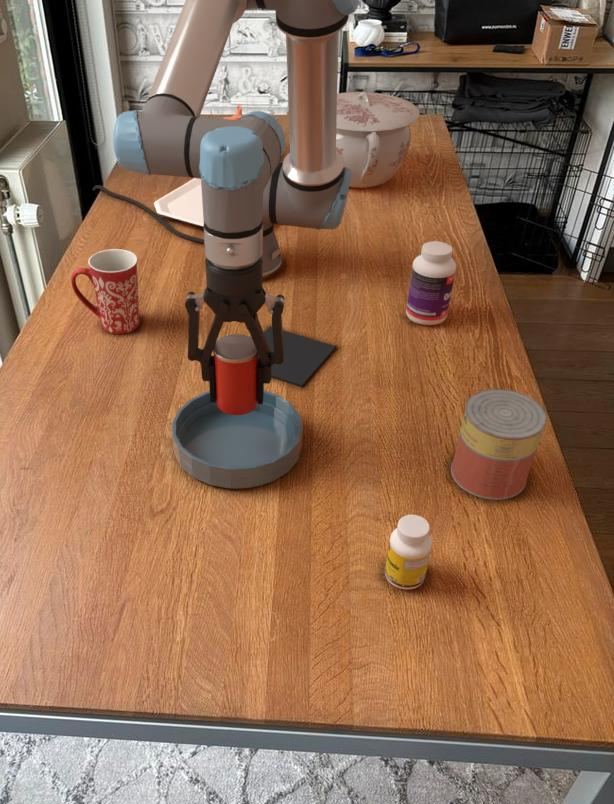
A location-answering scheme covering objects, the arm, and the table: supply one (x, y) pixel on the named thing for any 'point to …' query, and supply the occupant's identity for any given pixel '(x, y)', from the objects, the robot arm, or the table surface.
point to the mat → (298, 357)
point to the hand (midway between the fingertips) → (237, 397)
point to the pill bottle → (431, 284)
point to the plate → (183, 204)
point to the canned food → (497, 443)
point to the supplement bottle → (408, 552)
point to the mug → (113, 289)
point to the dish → (237, 441)
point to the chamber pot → (373, 135)
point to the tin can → (236, 374)
